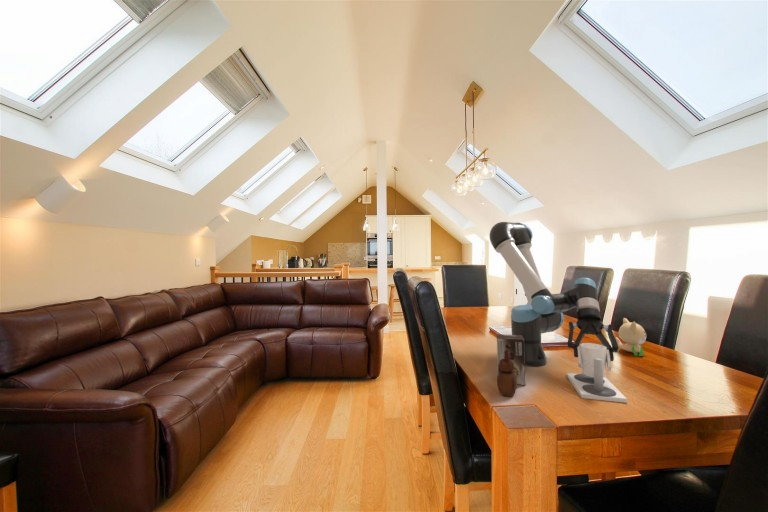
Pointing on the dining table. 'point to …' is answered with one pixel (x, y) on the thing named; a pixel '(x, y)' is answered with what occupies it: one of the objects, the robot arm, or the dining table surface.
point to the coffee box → (512, 354)
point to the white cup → (592, 357)
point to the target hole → (585, 378)
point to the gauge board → (590, 396)
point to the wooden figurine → (506, 377)
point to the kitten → (631, 337)
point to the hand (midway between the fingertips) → (594, 367)
